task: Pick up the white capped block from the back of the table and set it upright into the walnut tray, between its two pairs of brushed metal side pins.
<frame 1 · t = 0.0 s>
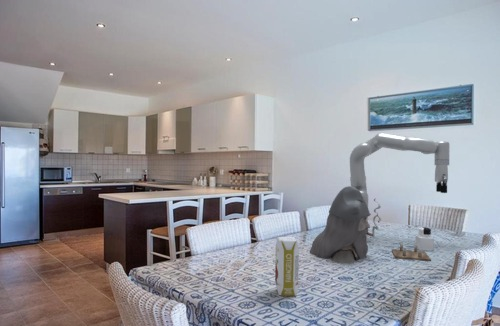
hand: (441, 192, 196), 31 cm above the table, tool pointing down, fingers open, 9 cm apart
pin tray: (410, 255, 173), on the table
white capped block: (424, 249, 188), on the table
juice carton: (286, 293, 120), on the table
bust: (343, 254, 174), on the table
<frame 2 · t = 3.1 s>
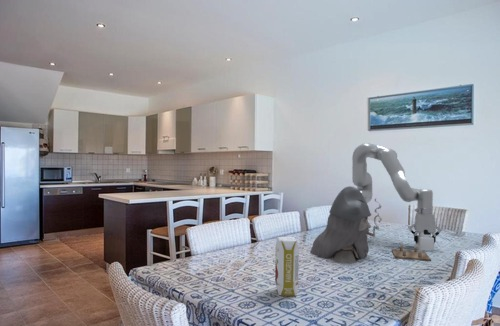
hand: (424, 243, 188), 4 cm above the table, tool pointing down, fingers closed on white capped block, 7 cm apart
white capped block: (424, 249, 188), on the table, touching gripper
everything else where it was.
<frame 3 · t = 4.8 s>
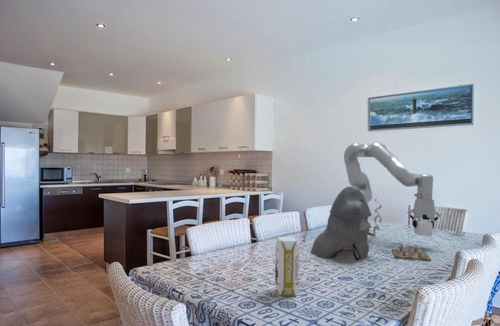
hand: (423, 227, 188), 12 cm above the table, tool pointing down, fingers closed on white capped block, 7 cm apart
white capped block: (422, 234, 188), point 8 cm above the table, touching gripper
everything else where it was.
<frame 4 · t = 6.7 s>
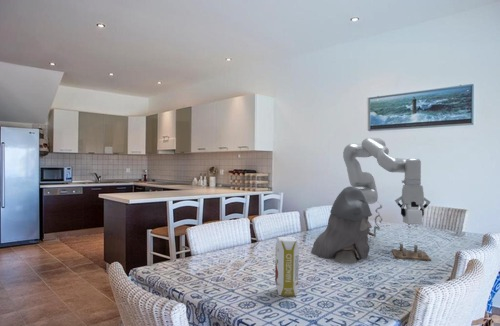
hand: (412, 216, 175), 20 cm above the table, tool pointing down, fingers closed on white capped block, 7 cm apart
white capped block: (412, 223, 175), point 16 cm above the table, touching gripper
everything else where it was.
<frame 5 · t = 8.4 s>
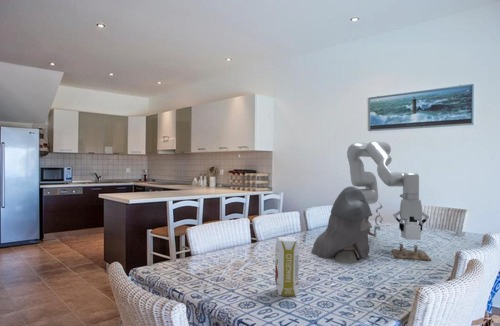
hand: (410, 231, 173), 12 cm above the table, tool pointing down, fingers closed on white capped block, 7 cm apart
white capped block: (410, 238, 173), point 9 cm above the table, touching gripper
everything else where it was.
when the fingers open (6 cm above the table, at t = 10.1 s): white capped block drops 2 cm, resting on pin tray.
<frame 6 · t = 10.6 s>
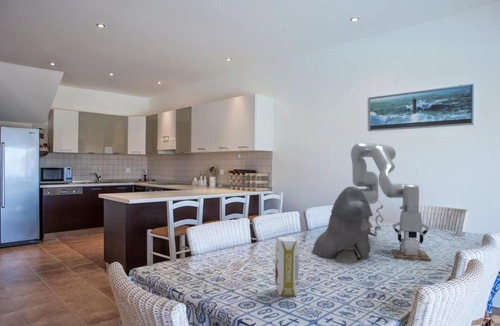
hand: (410, 242, 173), 7 cm above the table, tool pointing down, fingers open, 9 cm apart
white capped block: (410, 254, 173), point 1 cm above the table, touching pin tray
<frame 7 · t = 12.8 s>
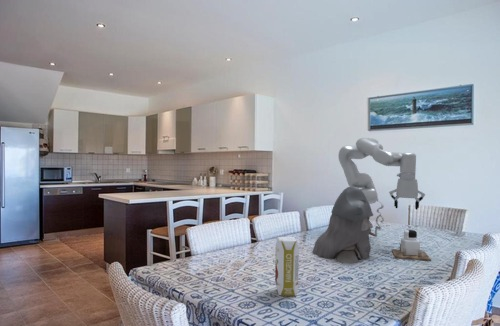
hand: (406, 208, 179), 23 cm above the table, tool pointing down, fingers open, 9 cm apart
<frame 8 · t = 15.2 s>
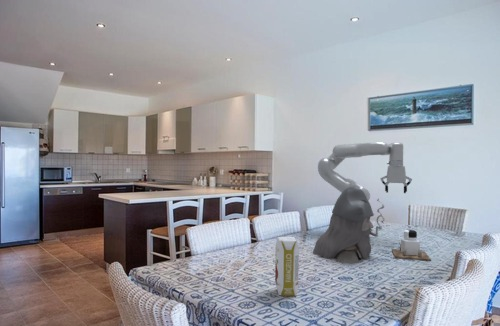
hand: (395, 192, 200), 30 cm above the table, tool pointing down, fingers open, 9 cm apart
at the end: white capped block 0.1 cm off-centre on the pin tray, point 0.8 cm above the pin tray's base; white capped block tilted 0°; the gripper is holding nothing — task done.
